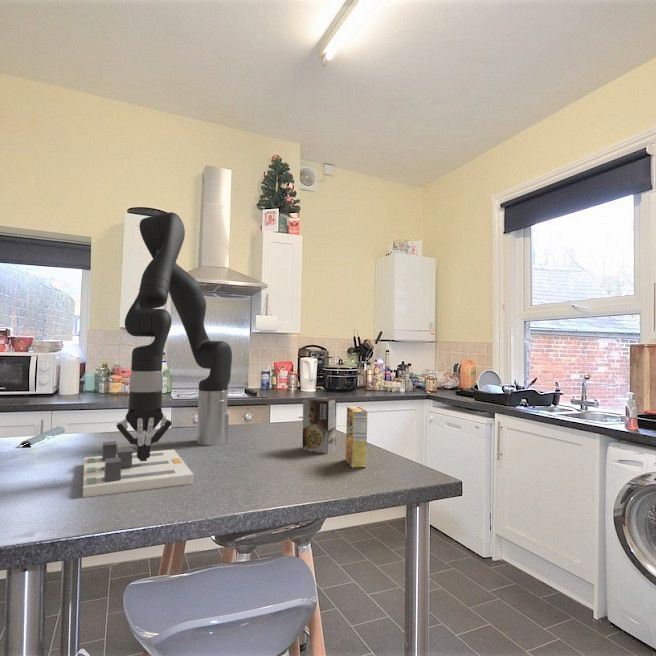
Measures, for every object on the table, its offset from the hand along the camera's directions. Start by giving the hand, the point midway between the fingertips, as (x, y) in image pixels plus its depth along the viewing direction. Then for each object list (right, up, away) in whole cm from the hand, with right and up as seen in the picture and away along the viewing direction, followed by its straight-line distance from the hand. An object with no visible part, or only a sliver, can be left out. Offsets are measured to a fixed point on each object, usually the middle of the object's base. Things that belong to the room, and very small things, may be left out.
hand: (142, 460), depth 105 cm
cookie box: (+42, -6, +29) cm, 52 cm away
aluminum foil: (-47, -5, +31) cm, 57 cm away
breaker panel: (-2, -4, -1) cm, 4 cm away
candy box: (+53, -6, +14) cm, 55 cm away
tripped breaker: (-4, -1, -2) cm, 4 cm away
